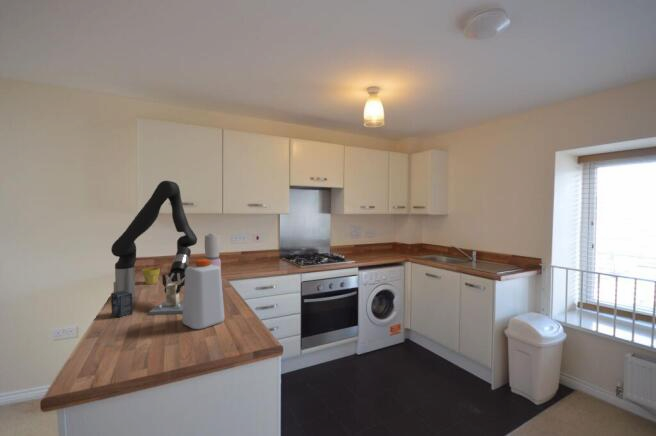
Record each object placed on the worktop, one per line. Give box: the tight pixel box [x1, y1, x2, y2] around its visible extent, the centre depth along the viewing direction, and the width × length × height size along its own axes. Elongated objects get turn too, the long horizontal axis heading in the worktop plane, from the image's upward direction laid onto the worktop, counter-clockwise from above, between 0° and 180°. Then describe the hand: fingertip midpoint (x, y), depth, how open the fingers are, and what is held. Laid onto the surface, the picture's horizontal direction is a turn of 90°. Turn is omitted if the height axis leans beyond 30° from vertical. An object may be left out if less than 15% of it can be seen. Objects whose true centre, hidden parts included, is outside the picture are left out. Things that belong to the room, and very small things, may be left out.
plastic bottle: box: [181, 258, 225, 330], centre depth 134 cm, size 15×15×28 cm
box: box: [110, 291, 133, 318], centre depth 144 cm, size 8×6×11 cm
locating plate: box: [148, 300, 184, 316], centre depth 152 cm, size 16×16×4 cm
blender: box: [204, 232, 222, 270], centre depth 234 cm, size 16×12×32 cm
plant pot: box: [141, 267, 161, 285], centre depth 206 cm, size 10×10×10 cm
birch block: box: [165, 282, 180, 305], centre depth 152 cm, size 4×4×10 cm
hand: (171, 292), depth 151 cm, fingers closed on birch block, 4 cm apart
